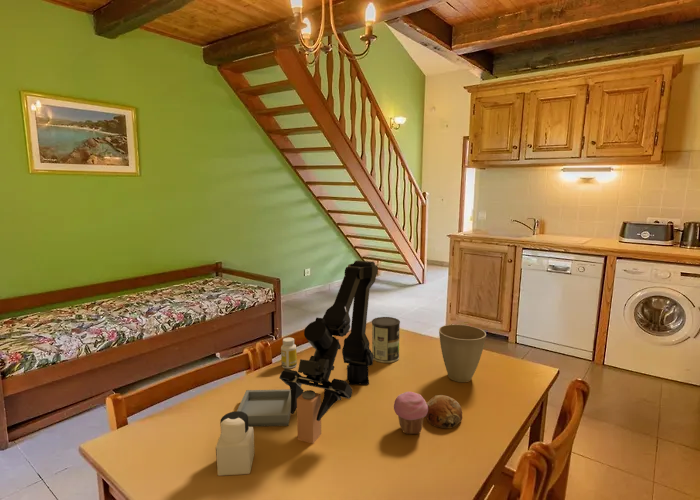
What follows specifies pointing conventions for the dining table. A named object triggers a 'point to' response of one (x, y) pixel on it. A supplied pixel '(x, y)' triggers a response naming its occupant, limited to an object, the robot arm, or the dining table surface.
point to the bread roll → (444, 411)
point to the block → (308, 416)
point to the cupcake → (410, 411)
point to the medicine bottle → (235, 445)
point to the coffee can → (385, 339)
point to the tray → (267, 407)
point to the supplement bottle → (288, 353)
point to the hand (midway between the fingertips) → (304, 417)
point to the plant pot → (461, 350)
